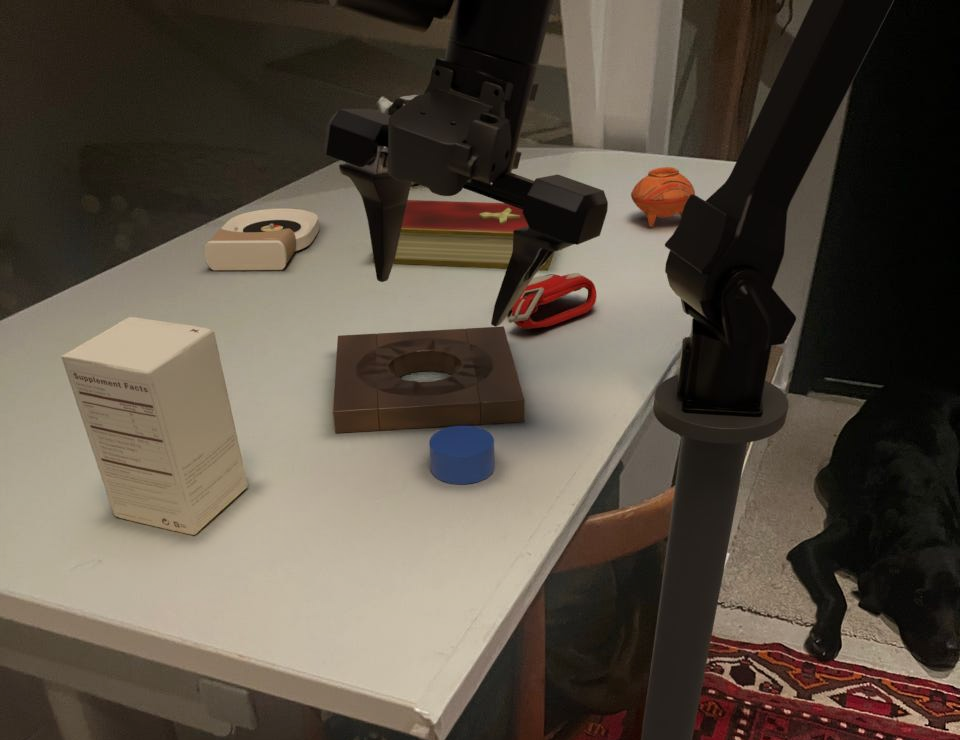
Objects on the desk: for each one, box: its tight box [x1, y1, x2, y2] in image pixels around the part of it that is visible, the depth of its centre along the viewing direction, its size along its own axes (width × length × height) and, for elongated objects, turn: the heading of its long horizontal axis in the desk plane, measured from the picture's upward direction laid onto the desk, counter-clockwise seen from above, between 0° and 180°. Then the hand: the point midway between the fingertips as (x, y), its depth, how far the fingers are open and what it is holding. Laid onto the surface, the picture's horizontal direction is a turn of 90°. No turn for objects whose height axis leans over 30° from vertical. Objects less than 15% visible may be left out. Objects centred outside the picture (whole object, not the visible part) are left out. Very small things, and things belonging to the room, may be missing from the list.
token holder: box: [332, 326, 526, 434], centre depth 84 cm, size 16×16×2 cm
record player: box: [204, 208, 320, 271], centre depth 115 cm, size 12×3×20 cm
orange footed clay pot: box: [630, 166, 696, 228], centre depth 118 cm, size 8×8×7 cm
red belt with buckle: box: [507, 272, 597, 330], centre depth 95 cm, size 12×4×10 cm
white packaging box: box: [61, 316, 249, 536], centre depth 66 cm, size 7×7×13 cm
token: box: [428, 425, 495, 485], centre depth 72 cm, size 5×5×2 cm
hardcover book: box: [371, 199, 555, 271], centre depth 112 cm, size 12×21×4 cm, turn 80°
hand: (438, 302), depth 66 cm, fingers open, 9 cm apart
